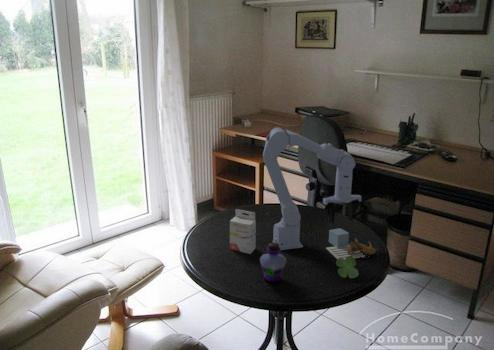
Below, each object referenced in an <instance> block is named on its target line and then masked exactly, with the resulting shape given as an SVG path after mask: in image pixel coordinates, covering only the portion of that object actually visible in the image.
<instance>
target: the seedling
mask: <svg viewBox="0 0 494 350" xmlns="http://www.w3.org/2000/svg"><path fill="white" fill-rule="evenodd" d="M335 264H336V266H337V267H338V269H337V274H338V275H339V276H340V277H341V278H347V277H349V278H350V279H355V278H357V277H358V276H359V274H360V273H359V270H358V269H357V268H356V265H357V262H356V258H353V257H351V256H347V257H346V260H345V259H343V258H338V259H336V262H335Z"/></svg>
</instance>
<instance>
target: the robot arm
mask: <svg viewBox="0 0 494 350" xmlns="http://www.w3.org/2000/svg"><path fill="white" fill-rule="evenodd" d="M295 146H296V147H299V148H302V149H305V150H308V151H310V152H312V153H315V154H316V156H317V159H319V160H321V161H324V162H326V163H328V164H331V165H332V166H336V172H335V185H334V195H331V196H328V197H323V198H322V204H324V206H325V208H326V211H327V215H328V220H329V222H330V223H332V224H333V223H334V222H335V213H336V210H337V207H336V205H335V204H338V203H339V204H341V203H346V204H347V206H348V207H347V219H348V220H349V221H350V222H352V221H353V220H354V216H355V213H356V212H357V210H358V209H359V207H360V206H361V203H360V202H362V195H360V194H352V183H353V169H355V167H356V161H355V158H354V156H352V155H351V154H350V153H349V152H348V151H346V150H344V149H339V148H336V147H334V146H333V144H332V143H330V142H329V143H326V142H324V143H322V144H318V143H317V142H315V141H314V140H313V141H312V140H310V139H309V138H307V137H304V136H303V135H300V134H298V133H296V132H294V131H291V130H289V129H284V128H282V127H280V126H279V127H276V126H275V127H274V128H272V129H271V130H270V131H269V133H268V135H267V136H266V140H265V144H264V148H263V152H262V159H263V162H264V164H265V167H266V169H267V173H268V175H269V178H270V180H271V183H272V186H273V188H274V191H275V194H276V196H277V198H278V199H277V200H278V202H279V204H280V207H281V208H280V210H281V214H282V217H281V219H280V221H279V222H277V223H275V224H274V225H273V231H272V232H273V233H272V234H273V235H272V236H273V239H272V243H278V244H279V247H280V251H283V250H284V251H286V250H292V249H301V248H304V245H303V244H302V243H301V242H300V232H301V218H302V216H301V213H300V212H299V208H298V205H297V204H296V203H295V202H294V200H293V198H292V196H291V194H290V193H291V192H290V190H289V188H288V185H287V183H286V180H285V178H284V174H283V173H282V169H281V166H280V163H279V162H278V157H279V156H280V154H281V152H282V151H284V150H285V149H286V148H287V147H289V148H292V147H295Z"/></svg>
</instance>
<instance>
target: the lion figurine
mask: <svg viewBox="0 0 494 350" xmlns="http://www.w3.org/2000/svg"><path fill="white" fill-rule="evenodd" d="M353 240H354V241H350V243H349V244H348V246H347V253H348V254H349V253H352V254H354V252H356V251H363V252H365V253H366V254H368V255H369V256H370V255H373V254H375V253H376V251H377V249H379V248H380V246H379V245H378V246H376V247H375V248H374V247H373V243H372V242H371V241H370V240H368V241H367V243H368V244H369V246H367V245H365V244H363V243H360V242H359V240H358V238H357V237H355V238H353Z"/></svg>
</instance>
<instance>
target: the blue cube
mask: <svg viewBox="0 0 494 350" xmlns="http://www.w3.org/2000/svg"><path fill="white" fill-rule="evenodd" d="M349 240H350V233H349V232H348V231H346V230H345V229H342V228H339V227H338V228H334V229H329V230H328V243H330V244H331V245H332V246H333V247H337V248H339V247H344V246H348V245H349V244H350V243H349V242H350V241H349Z"/></svg>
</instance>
